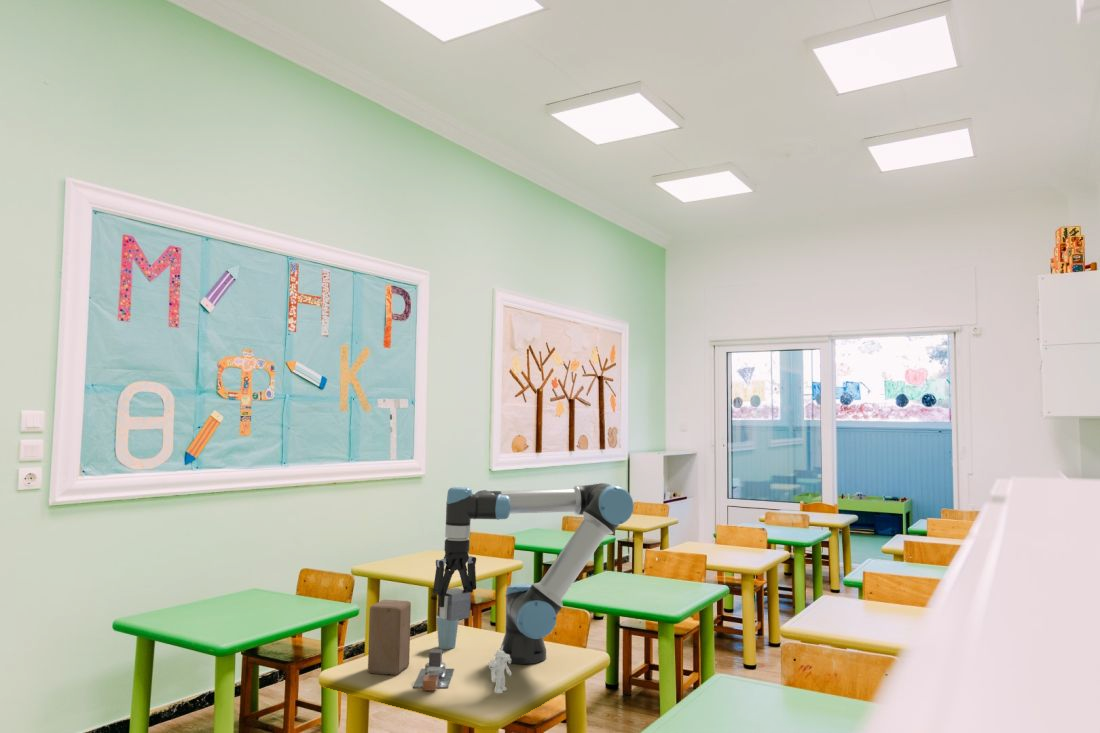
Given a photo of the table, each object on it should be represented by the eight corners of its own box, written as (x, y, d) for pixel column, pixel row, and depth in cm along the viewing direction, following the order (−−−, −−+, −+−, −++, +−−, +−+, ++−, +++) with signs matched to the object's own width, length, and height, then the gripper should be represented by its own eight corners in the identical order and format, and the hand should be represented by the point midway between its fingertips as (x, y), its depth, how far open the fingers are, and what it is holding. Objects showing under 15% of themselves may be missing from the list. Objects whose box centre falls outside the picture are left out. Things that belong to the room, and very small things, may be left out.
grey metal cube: (469, 617, 222) (471, 592, 223) (450, 621, 218) (452, 595, 218) (456, 612, 228) (457, 588, 228) (437, 616, 223) (438, 590, 223)
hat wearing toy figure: (503, 684, 214) (504, 642, 215) (514, 687, 212) (515, 644, 213) (484, 694, 206) (485, 650, 207) (496, 696, 204) (496, 652, 205)
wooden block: (397, 676, 220) (399, 607, 222) (366, 673, 222) (368, 606, 224) (410, 666, 230) (412, 600, 232) (380, 663, 232) (382, 598, 234)
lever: (454, 669, 227) (454, 645, 227) (446, 691, 208) (447, 664, 208) (421, 669, 226) (422, 645, 227) (411, 691, 208) (411, 664, 208)
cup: (455, 650, 246) (455, 618, 247) (432, 649, 247) (433, 617, 248) (461, 644, 254) (461, 613, 254) (439, 643, 255) (440, 612, 256)
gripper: (475, 535, 234) (472, 609, 232) (422, 539, 221) (418, 618, 219) (490, 538, 229) (487, 613, 227) (437, 542, 215) (433, 623, 213)
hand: (453, 615), depth 223 cm, fingers closed on grey metal cube, 7 cm apart
